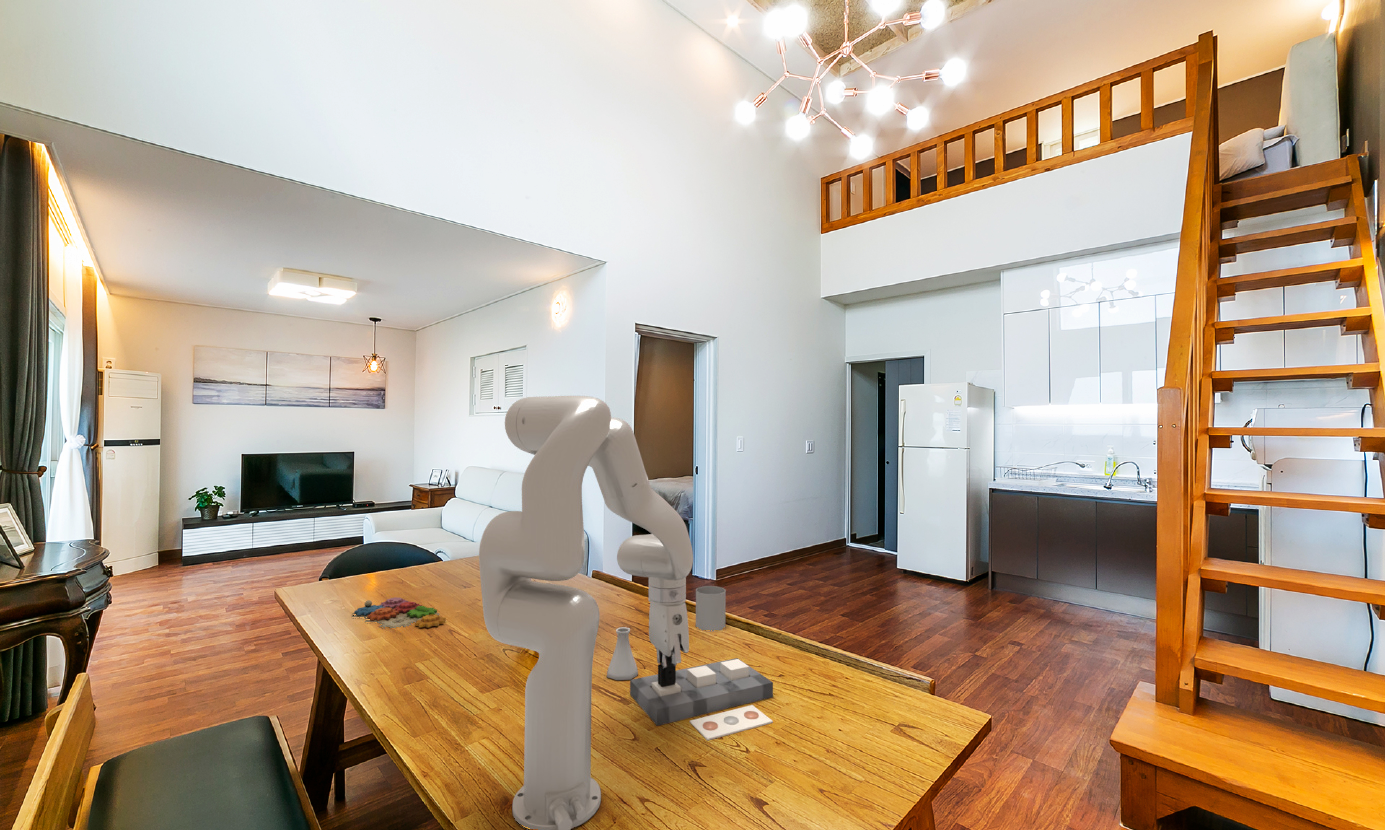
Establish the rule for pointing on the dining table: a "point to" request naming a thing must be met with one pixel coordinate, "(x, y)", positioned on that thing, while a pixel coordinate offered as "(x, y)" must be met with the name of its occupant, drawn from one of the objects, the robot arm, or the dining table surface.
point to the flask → (622, 658)
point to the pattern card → (730, 722)
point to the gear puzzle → (399, 614)
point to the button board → (699, 695)
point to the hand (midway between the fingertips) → (666, 684)
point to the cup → (710, 608)
